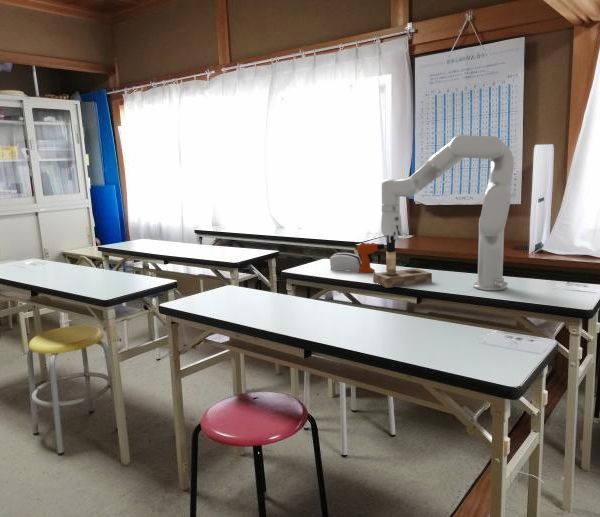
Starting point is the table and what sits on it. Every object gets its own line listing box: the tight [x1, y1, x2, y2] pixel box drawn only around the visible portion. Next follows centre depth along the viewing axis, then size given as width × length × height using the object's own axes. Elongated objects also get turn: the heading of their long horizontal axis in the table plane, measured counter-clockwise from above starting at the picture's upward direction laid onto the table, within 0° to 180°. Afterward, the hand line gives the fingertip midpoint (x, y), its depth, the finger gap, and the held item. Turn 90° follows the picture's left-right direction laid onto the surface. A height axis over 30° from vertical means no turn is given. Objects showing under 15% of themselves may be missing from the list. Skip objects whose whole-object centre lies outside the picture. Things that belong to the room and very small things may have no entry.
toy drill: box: [356, 242, 387, 274], centre depth 249 cm, size 5×19×15 cm, turn 77°
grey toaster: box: [329, 252, 362, 272], centre depth 258 cm, size 17×5×10 cm, turn 59°
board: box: [372, 268, 433, 289], centre depth 228 cm, size 12×22×4 cm, turn 110°
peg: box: [385, 251, 397, 276], centre depth 225 cm, size 4×4×14 cm
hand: (390, 251), depth 224 cm, fingers closed
